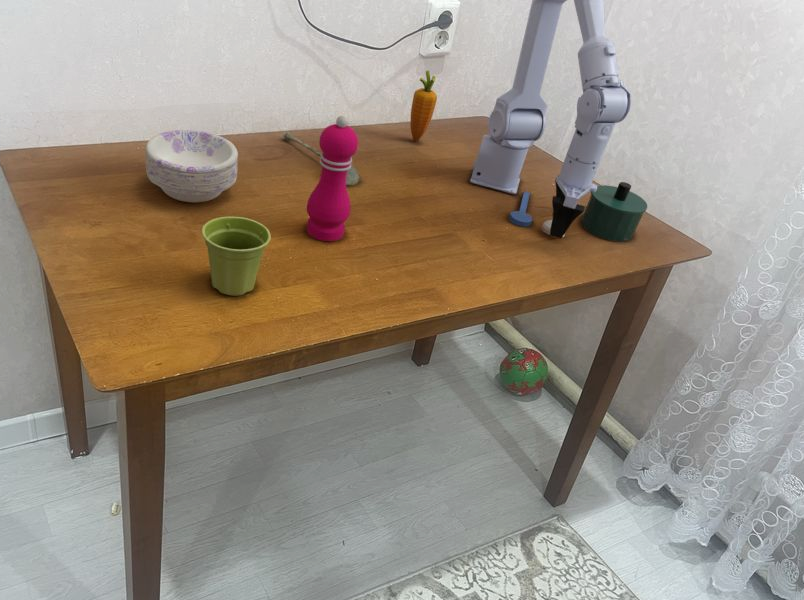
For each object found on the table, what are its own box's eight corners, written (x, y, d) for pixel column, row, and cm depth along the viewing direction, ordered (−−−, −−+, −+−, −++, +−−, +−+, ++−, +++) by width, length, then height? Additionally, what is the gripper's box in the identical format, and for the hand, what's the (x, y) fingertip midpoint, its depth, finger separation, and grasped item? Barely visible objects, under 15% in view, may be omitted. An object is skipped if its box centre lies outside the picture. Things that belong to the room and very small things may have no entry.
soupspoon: (338, 191, 134) (364, 187, 138) (341, 175, 132) (368, 171, 135) (273, 140, 145) (299, 137, 149) (275, 124, 143) (301, 122, 147)
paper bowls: (157, 214, 116) (157, 169, 111) (138, 172, 126) (137, 129, 121) (247, 208, 122) (250, 165, 117) (221, 168, 132) (223, 127, 127)
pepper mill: (351, 229, 122) (372, 115, 109) (337, 247, 116) (357, 129, 104) (312, 217, 123) (328, 103, 111) (297, 235, 118) (312, 117, 105)
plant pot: (202, 264, 107) (204, 212, 101) (265, 269, 108) (270, 219, 103) (197, 300, 99) (199, 246, 94) (265, 305, 101) (270, 253, 95)
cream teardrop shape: (555, 228, 134) (560, 216, 132) (570, 242, 130) (575, 230, 129) (536, 229, 132) (540, 217, 131) (551, 243, 129) (555, 231, 127)
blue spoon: (507, 222, 133) (509, 218, 132) (515, 192, 144) (517, 187, 143) (529, 228, 132) (531, 224, 131) (536, 197, 143) (537, 193, 143)
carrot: (425, 148, 155) (441, 78, 145) (402, 143, 155) (417, 73, 146) (427, 140, 159) (443, 72, 149) (405, 135, 159) (420, 66, 150)
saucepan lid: (589, 207, 131) (597, 188, 128) (590, 185, 139) (597, 167, 136) (646, 222, 129) (655, 203, 127) (644, 199, 137) (652, 181, 135)
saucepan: (580, 232, 134) (592, 204, 130) (582, 210, 142) (593, 183, 138) (632, 246, 133) (645, 218, 129) (631, 224, 140) (643, 197, 137)
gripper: (606, 179, 116) (577, 251, 124) (607, 148, 127) (579, 216, 135) (563, 167, 117) (537, 240, 125) (567, 138, 128) (543, 206, 136)
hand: (556, 227), depth 130 cm, fingers open, 7 cm apart
